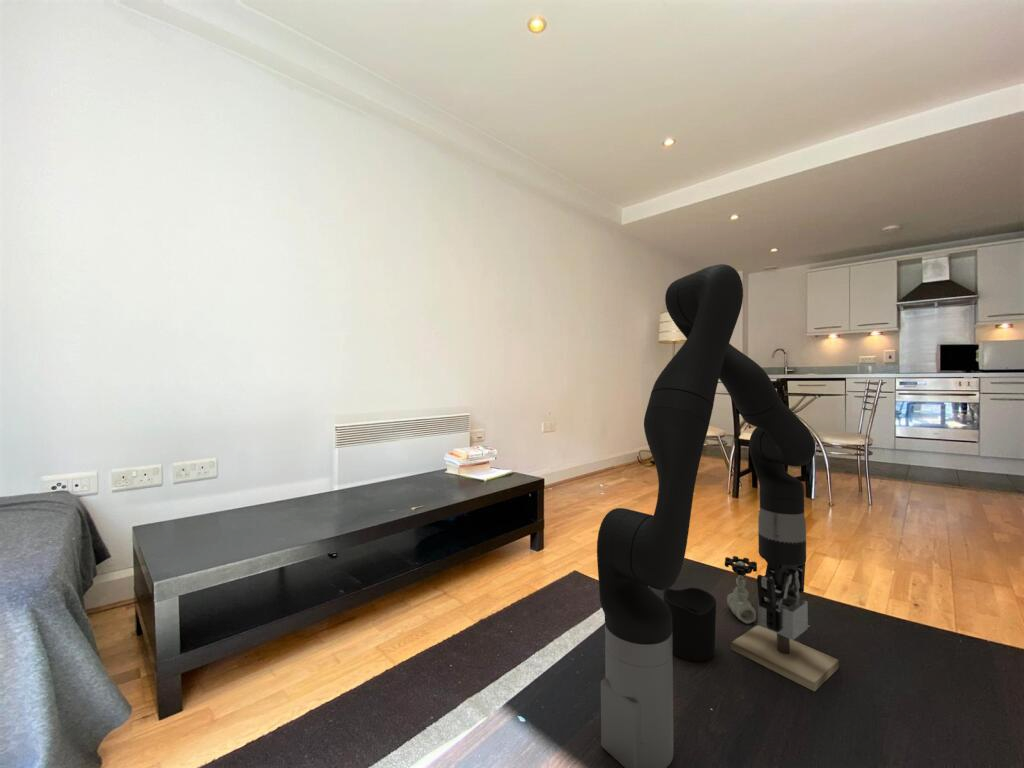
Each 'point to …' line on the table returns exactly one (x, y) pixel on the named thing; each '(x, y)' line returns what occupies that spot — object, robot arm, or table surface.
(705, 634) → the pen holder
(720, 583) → the table surface
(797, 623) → the block
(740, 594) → the valve
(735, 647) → the shaft stand
